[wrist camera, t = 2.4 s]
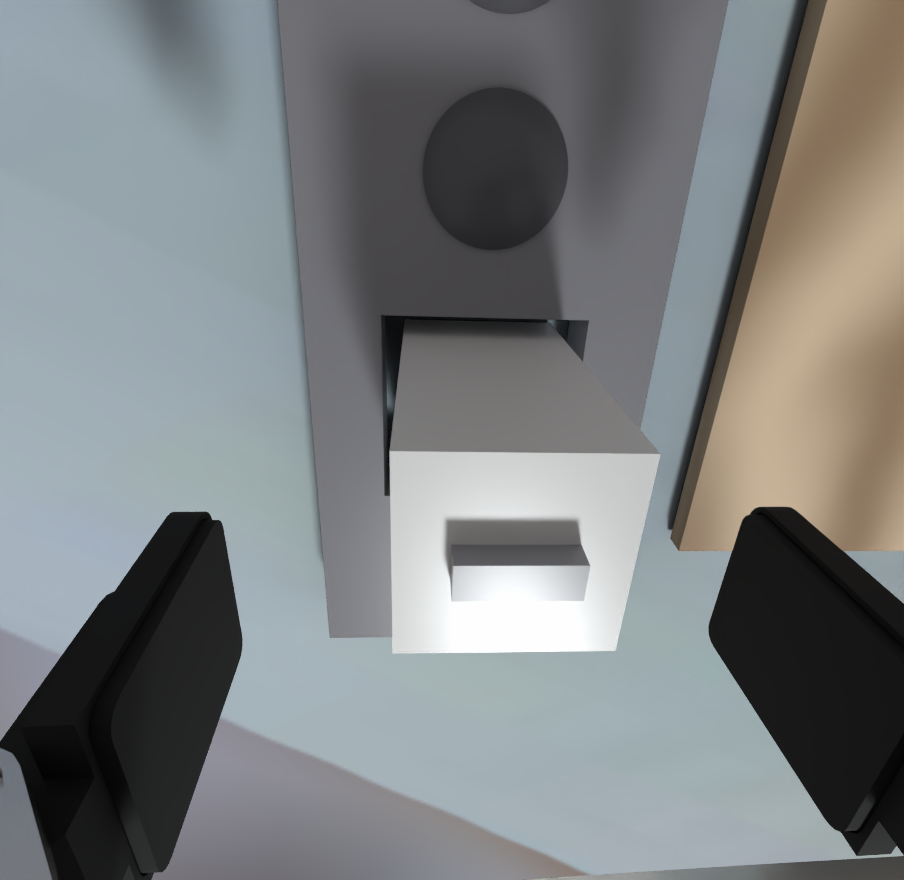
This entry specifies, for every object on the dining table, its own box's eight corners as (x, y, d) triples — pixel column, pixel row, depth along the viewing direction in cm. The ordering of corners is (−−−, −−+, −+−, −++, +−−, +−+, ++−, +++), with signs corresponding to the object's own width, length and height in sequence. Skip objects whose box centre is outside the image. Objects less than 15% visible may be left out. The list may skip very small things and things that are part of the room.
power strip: (739, -250, 12) (815, -351, 10) (583, 597, 22) (602, 647, 20) (274, -292, 11) (235, -411, 9) (337, 599, 22) (327, 650, 20)
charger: (550, 322, 17) (675, 471, 9) (535, 451, 19) (625, 674, 11) (404, 319, 17) (387, 468, 9) (405, 450, 19) (391, 677, 11)
